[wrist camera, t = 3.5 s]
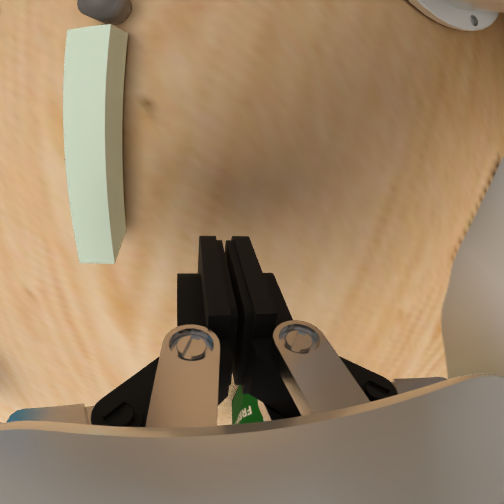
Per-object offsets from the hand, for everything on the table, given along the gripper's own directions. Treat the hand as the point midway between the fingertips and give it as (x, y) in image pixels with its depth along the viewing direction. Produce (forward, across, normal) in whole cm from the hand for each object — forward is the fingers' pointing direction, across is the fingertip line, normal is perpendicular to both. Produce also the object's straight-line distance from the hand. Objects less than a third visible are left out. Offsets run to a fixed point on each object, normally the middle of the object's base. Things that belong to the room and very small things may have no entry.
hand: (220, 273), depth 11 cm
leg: (+8, +6, -3) cm, 10 cm away
